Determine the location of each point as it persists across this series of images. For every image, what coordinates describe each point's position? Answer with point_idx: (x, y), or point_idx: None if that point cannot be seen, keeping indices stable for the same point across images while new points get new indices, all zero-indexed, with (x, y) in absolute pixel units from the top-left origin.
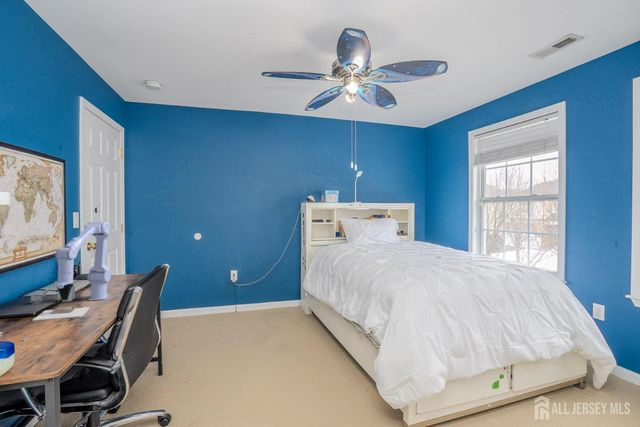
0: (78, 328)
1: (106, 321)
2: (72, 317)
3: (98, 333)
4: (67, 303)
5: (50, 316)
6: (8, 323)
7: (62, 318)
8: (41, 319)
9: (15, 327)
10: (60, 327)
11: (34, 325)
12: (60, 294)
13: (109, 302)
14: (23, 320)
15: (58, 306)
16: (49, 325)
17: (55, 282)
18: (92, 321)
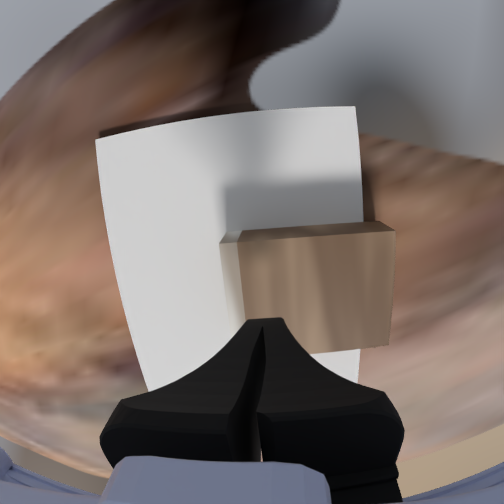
0: (22, 401)
1: (99, 470)
2: (142, 365)
3: (10, 440)
4: (392, 284)
5: (157, 228)
6: (92, 26)
7: (130, 315)
8: (102, 195)
9: (17, 121)
10: (16, 342)
11: (28, 206)
12: (212, 359)
13: (436, 436)
14: (129, 70)
15: (295, 244)
16: (28, 287)
17: (104, 499)
18: (93, 439)
